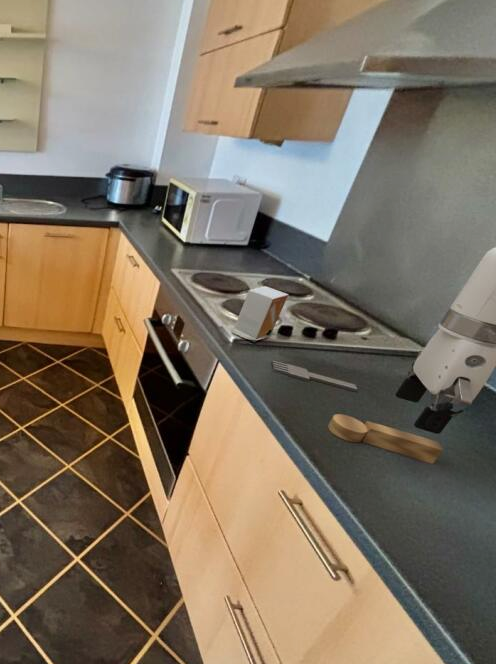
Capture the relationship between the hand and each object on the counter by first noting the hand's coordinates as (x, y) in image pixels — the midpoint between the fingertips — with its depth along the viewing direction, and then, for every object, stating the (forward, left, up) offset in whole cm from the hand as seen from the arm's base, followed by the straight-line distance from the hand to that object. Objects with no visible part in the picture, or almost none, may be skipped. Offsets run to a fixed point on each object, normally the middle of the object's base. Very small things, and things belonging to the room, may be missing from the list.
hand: (415, 413), depth 72 cm
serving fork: (+10, -20, -8) cm, 24 cm away
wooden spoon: (+2, 0, -8) cm, 8 cm away
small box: (+22, -36, -8) cm, 43 cm away
